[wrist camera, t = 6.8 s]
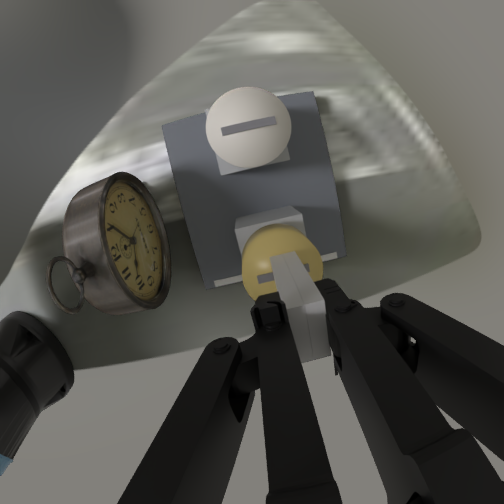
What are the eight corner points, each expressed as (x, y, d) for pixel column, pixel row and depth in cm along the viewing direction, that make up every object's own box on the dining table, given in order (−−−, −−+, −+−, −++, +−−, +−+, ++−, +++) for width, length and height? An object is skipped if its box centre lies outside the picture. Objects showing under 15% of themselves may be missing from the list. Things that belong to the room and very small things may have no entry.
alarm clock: (183, 272, 29) (131, 375, 13) (138, 283, 29) (64, 379, 13) (152, 169, 26) (50, 174, 10) (106, 186, 26) (-9, 212, 10)
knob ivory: (224, 174, 24) (216, 176, 16) (211, 120, 22) (197, 97, 15) (281, 161, 24) (300, 157, 16) (268, 107, 22) (280, 79, 14)
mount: (208, 281, 29) (199, 314, 22) (167, 128, 25) (143, 116, 18) (340, 250, 29) (366, 274, 22) (308, 96, 24) (328, 74, 17)
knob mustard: (249, 273, 26) (252, 318, 18) (235, 220, 24) (232, 244, 16) (303, 260, 25) (328, 300, 18) (292, 207, 24) (316, 224, 16)
